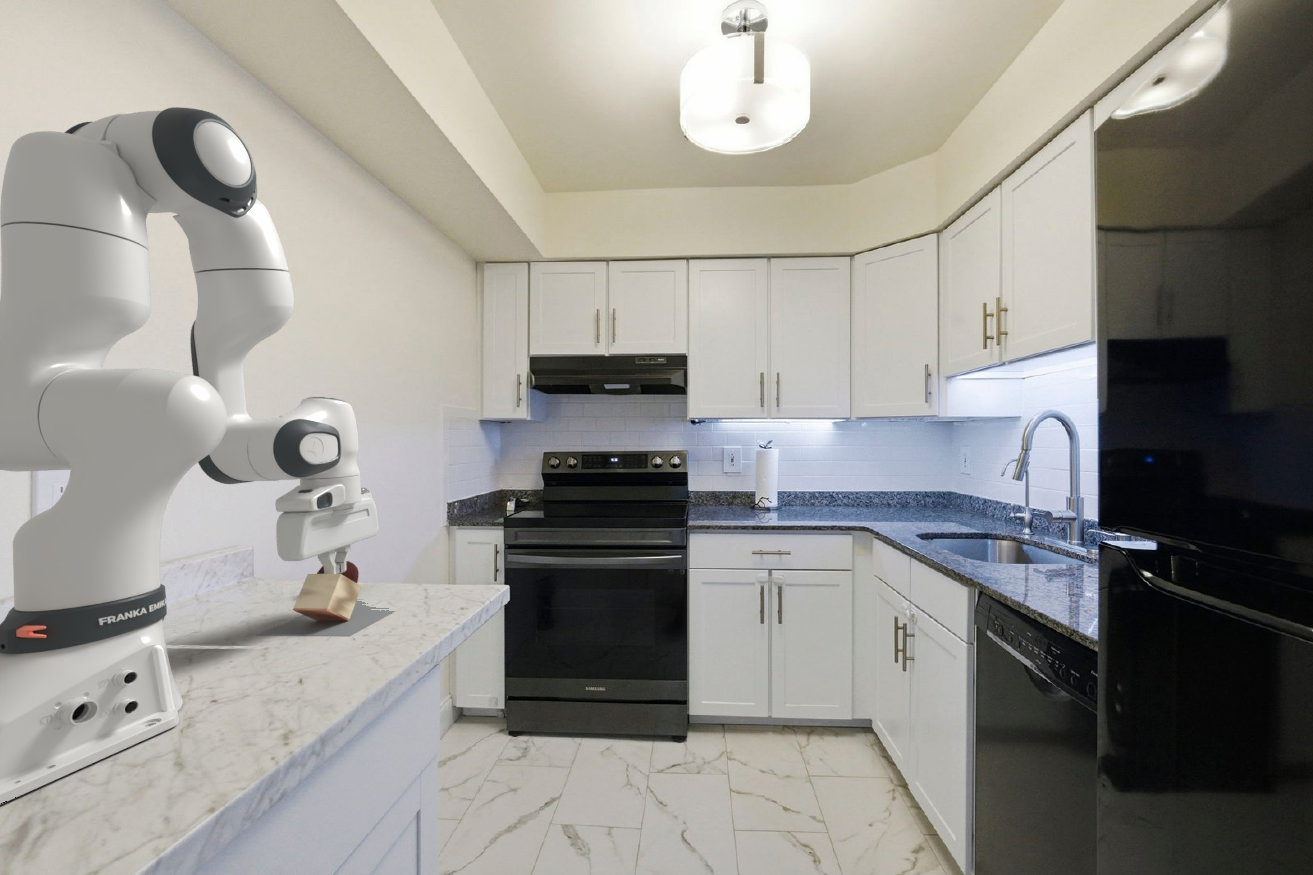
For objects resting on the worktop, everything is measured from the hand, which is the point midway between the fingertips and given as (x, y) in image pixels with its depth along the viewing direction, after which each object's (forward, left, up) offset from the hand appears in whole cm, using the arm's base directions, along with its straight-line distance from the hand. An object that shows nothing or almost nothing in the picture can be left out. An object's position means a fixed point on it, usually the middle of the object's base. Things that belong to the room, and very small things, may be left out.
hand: (335, 574), depth 93 cm
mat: (+2, 0, -8) cm, 8 cm away
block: (0, 0, -1) cm, 1 cm away
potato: (+16, +12, -8) cm, 22 cm away
